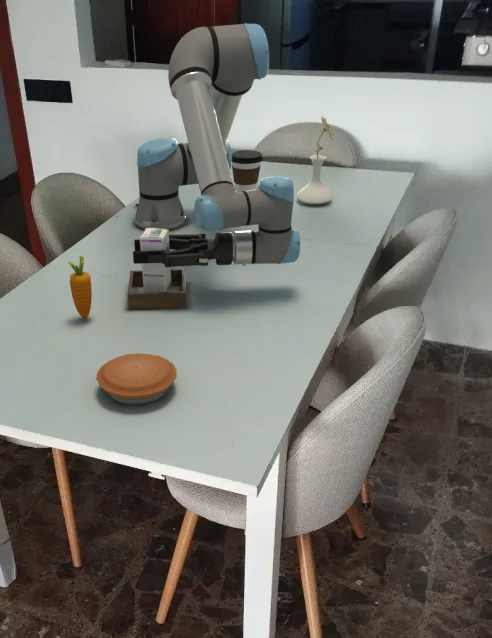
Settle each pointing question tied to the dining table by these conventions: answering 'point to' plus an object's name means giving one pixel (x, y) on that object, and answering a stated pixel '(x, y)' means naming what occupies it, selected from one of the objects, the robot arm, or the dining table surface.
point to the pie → (136, 378)
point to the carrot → (81, 289)
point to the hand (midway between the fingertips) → (134, 251)
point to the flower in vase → (317, 177)
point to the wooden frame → (157, 293)
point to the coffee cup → (246, 169)
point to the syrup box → (155, 273)
